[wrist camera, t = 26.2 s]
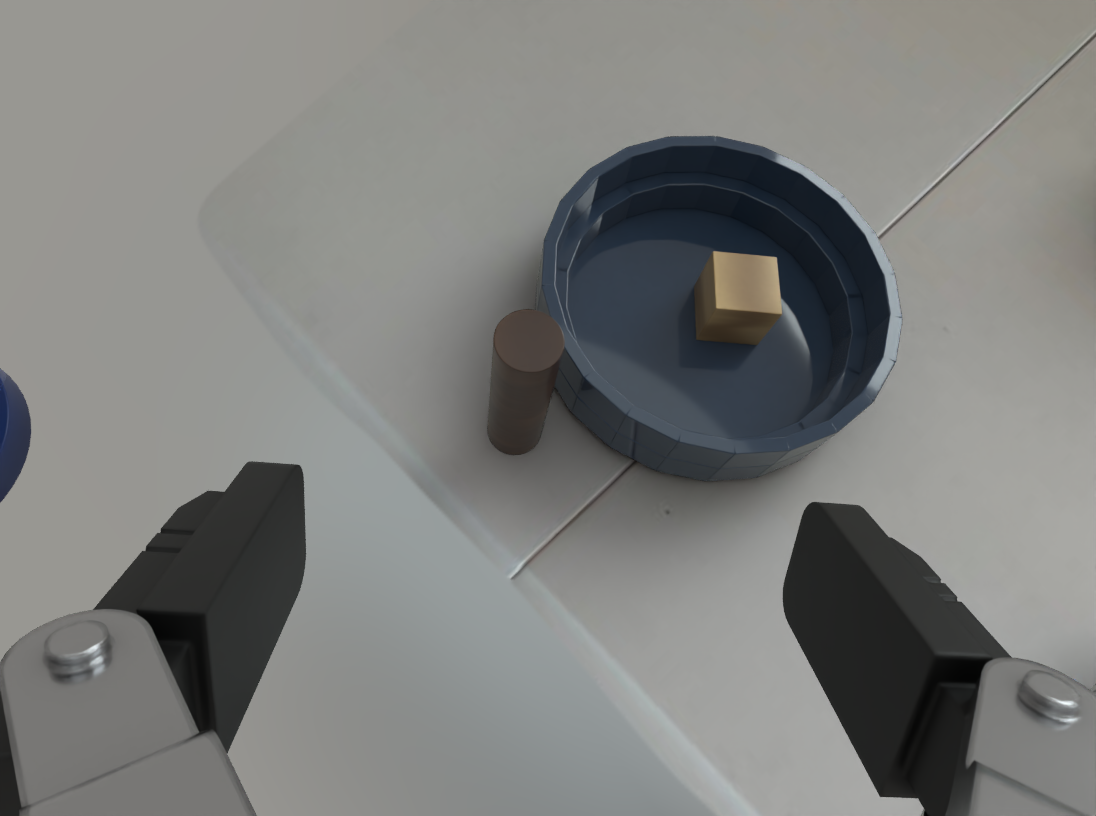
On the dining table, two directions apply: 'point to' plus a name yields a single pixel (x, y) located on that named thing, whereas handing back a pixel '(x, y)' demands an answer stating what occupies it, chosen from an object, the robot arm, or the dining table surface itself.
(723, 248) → the bowl
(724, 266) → the block
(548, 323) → the brown cylinder
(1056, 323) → the dining table surface
